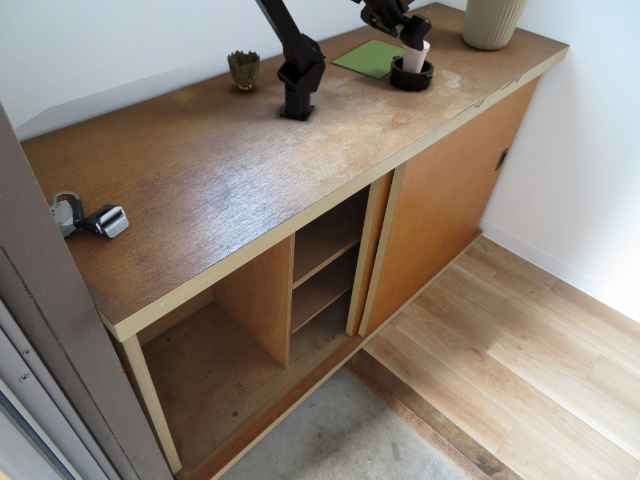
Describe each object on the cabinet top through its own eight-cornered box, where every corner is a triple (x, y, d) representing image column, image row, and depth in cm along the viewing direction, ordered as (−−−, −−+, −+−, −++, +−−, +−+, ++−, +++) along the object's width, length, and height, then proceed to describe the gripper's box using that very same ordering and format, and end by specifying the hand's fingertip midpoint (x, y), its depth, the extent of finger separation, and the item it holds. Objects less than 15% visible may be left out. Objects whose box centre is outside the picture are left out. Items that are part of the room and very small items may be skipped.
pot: (410, 97, 107) (414, 79, 104) (377, 75, 115) (379, 58, 112) (441, 88, 111) (446, 71, 108) (407, 68, 119) (411, 51, 116)
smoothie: (392, 77, 114) (402, 20, 105) (414, 75, 116) (426, 19, 106) (403, 88, 110) (414, 30, 100) (426, 86, 112) (439, 28, 102)
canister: (452, 50, 129) (473, -32, 114) (454, 29, 142) (473, -47, 127) (516, 59, 127) (546, -23, 112) (511, 37, 139) (538, -40, 124)
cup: (264, 83, 108) (262, 51, 103) (258, 97, 103) (256, 64, 98) (234, 81, 109) (231, 48, 103) (227, 95, 104) (223, 61, 98)
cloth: (379, 79, 113) (379, 78, 113) (331, 63, 119) (331, 61, 119) (418, 54, 126) (418, 52, 126) (373, 40, 132) (373, 39, 132)
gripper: (435, -24, 85) (461, 26, 98) (376, -47, 96) (406, 1, 108) (397, 25, 88) (427, 68, 100) (344, -3, 99) (376, 40, 111)
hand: (409, 42), depth 105 cm, fingers open, 9 cm apart
